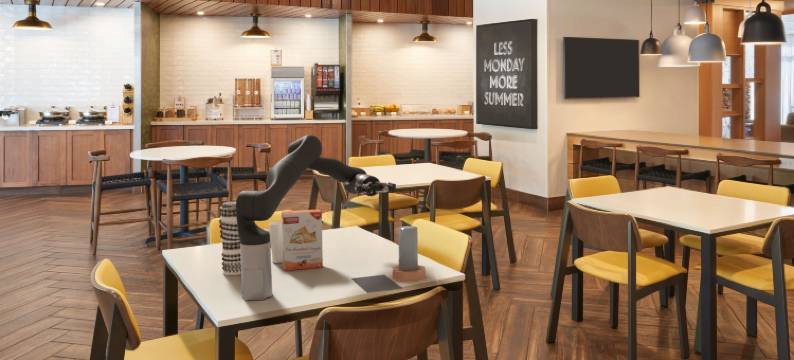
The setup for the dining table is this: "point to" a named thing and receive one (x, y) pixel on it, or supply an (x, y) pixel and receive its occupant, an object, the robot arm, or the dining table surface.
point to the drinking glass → (276, 241)
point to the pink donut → (409, 274)
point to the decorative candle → (230, 239)
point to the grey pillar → (408, 248)
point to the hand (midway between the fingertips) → (381, 190)
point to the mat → (376, 283)
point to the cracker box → (302, 239)
